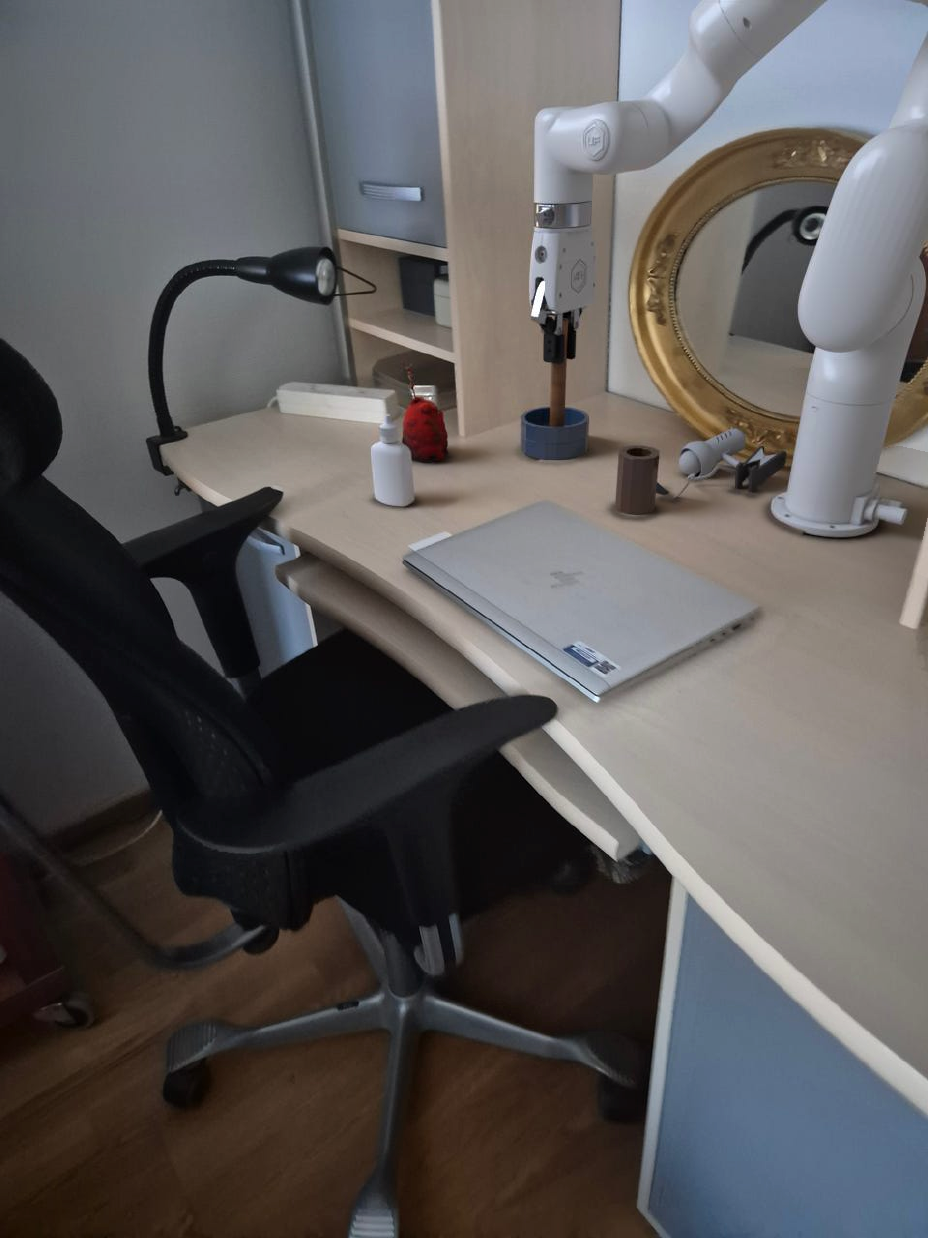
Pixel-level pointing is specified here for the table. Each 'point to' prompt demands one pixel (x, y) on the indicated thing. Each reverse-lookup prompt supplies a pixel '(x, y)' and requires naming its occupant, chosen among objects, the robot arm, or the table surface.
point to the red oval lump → (424, 428)
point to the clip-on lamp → (727, 460)
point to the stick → (559, 385)
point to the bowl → (554, 434)
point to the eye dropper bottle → (392, 467)
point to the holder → (636, 479)
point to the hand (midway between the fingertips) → (559, 359)
